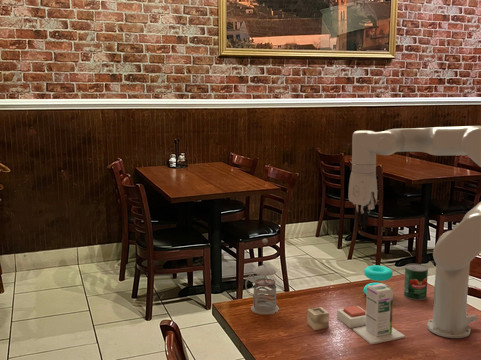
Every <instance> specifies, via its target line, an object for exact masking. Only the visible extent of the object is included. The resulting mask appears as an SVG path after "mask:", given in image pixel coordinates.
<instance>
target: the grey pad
mask: <svg viewBox="0 0 481 360" xmlns="http://www.w3.org/2000/svg"><path fill="white" fill-rule="evenodd" d="M352 331H353V332H354V333H356V334H357V335H358V336H360V337H361V339H364V341H366V342H367V343H369V344H370V345H377V344H381V343H385V342H390V341H396V340H400V339H405V338H406V335H405V334H404V333H402V332H400V331H399V330H397V329H395V328H394V327H393V326H392V333H391V334H386V335H381V336H378V337H376V336H375V335H373V334H372V333H370V332H369V331H368V330H366V325H365V326H359V327H354V328H352Z"/></svg>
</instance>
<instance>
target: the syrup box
mask: <svg viewBox="0 0 481 360" xmlns="http://www.w3.org/2000/svg"><path fill="white" fill-rule="evenodd" d="M380 283H381V282H380ZM393 301H394V289H393V288H392V287H390V286H389V285H387V284H385V283H381V284H377V285H372V286H367V295H366V305H365V306H366V307H365V311H366V325H365V326H366V330H368V331H369V332H370V333H372V334H373V335H375V336H376V337H378V336H381V335H386V334H391V333H392V327H393V307H394V306H393Z"/></svg>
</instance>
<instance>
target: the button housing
mask: <svg viewBox="0 0 481 360" xmlns="http://www.w3.org/2000/svg"><path fill="white" fill-rule="evenodd" d="M357 306H358V307H359V308H361V309H362V310H364V311H365V315H362V316H356V317H350V316H349V315H348V314H346V313H345V312H344V308H345V307H344V308H339V309H337V311H336V318H337V320H339V321H340V322H341V323H343V324H344V325H345V326H347V327H348V328H349V329H353V328H358V327H363V326H366V309H363V308H362V307H360V306H359V305H357Z"/></svg>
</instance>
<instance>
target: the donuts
mask: <svg viewBox="0 0 481 360" xmlns="http://www.w3.org/2000/svg"><path fill="white" fill-rule="evenodd" d="M363 272H364V276H365V277H366V278H367V279H369V280H372V281H376V282H370V283H367V284H366V285H365V286H364V288H363V293H364V294H365V295H366V296H367V286H372V285H377V284H381V282H384V281H385V282H386V281H388V280H390V279H391V278H392V276H393V271H392V269H391V268H389V267H387V266H385V265H379V264H378V265H377V264H376V265H375V264H374V265H368V266H367V267H365V268H364V271H363Z"/></svg>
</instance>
